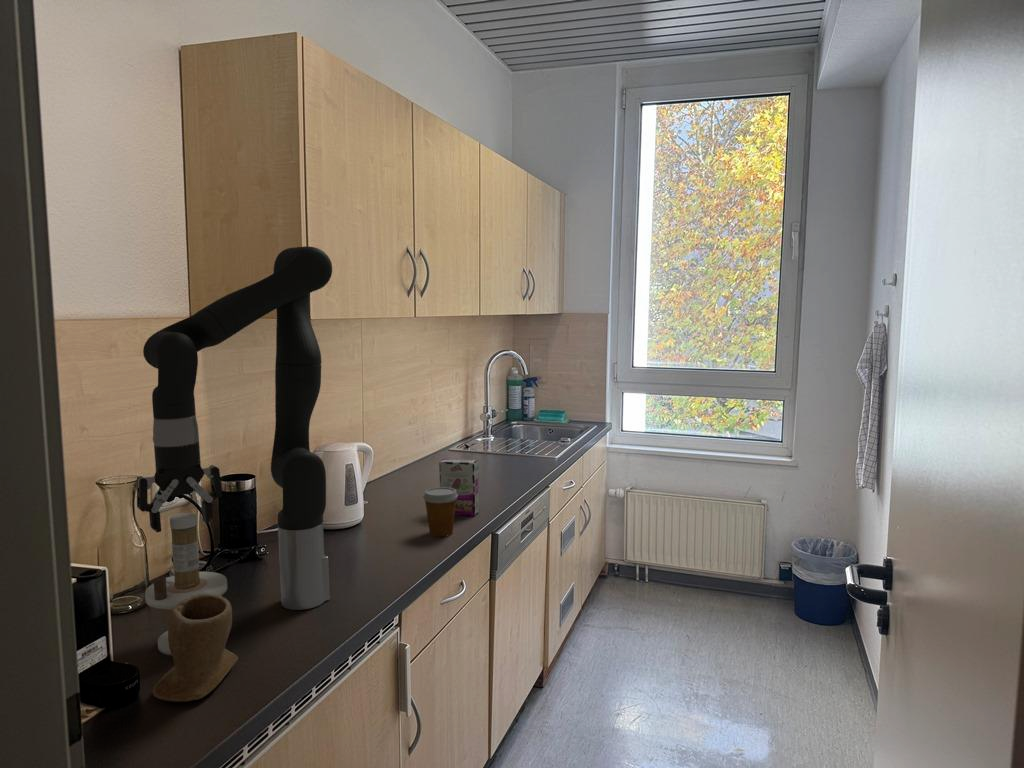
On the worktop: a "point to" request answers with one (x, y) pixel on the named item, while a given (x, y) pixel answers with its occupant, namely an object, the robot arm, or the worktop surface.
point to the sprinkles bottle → (185, 550)
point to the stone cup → (197, 648)
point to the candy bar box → (462, 483)
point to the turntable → (183, 590)
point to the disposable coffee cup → (440, 510)
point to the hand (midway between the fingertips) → (182, 526)
